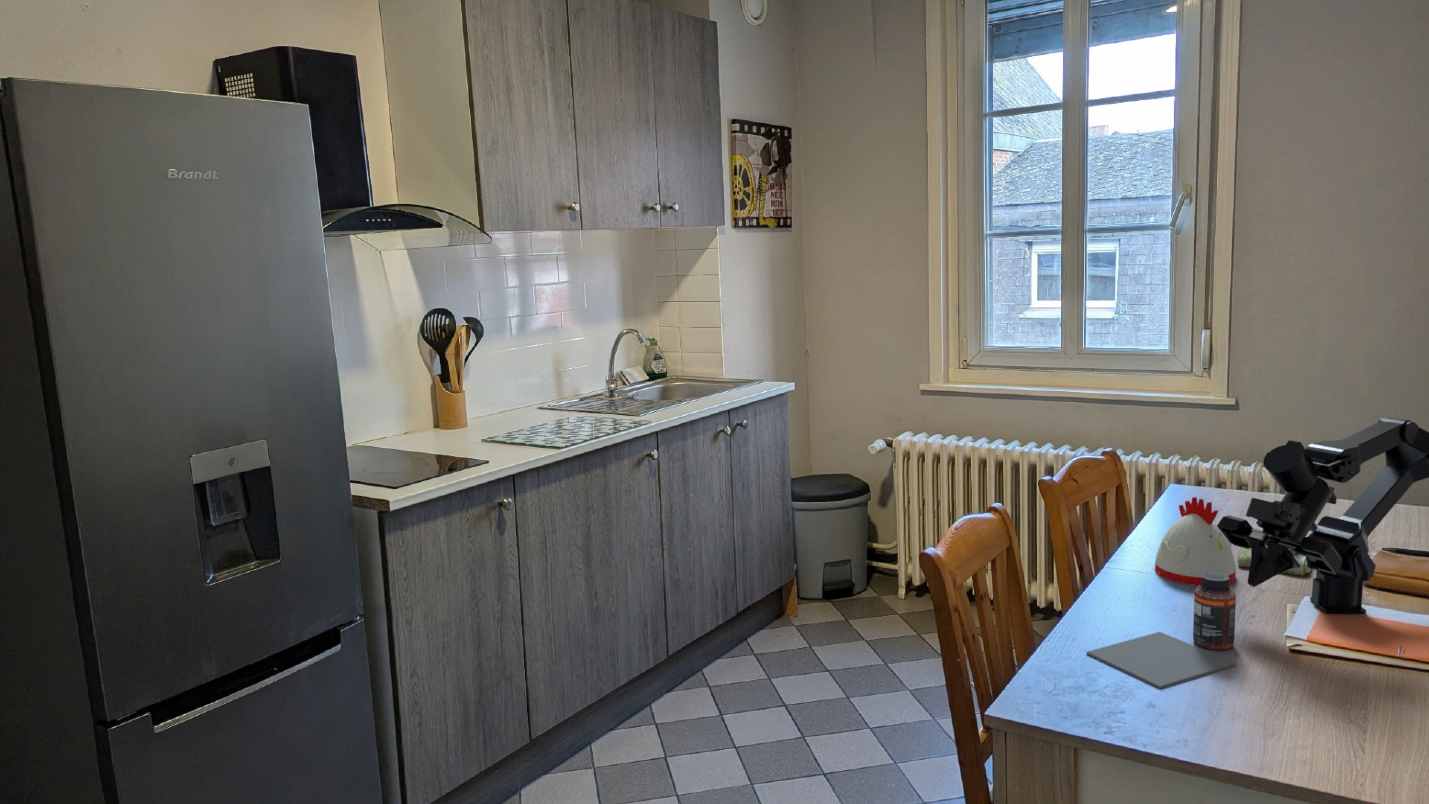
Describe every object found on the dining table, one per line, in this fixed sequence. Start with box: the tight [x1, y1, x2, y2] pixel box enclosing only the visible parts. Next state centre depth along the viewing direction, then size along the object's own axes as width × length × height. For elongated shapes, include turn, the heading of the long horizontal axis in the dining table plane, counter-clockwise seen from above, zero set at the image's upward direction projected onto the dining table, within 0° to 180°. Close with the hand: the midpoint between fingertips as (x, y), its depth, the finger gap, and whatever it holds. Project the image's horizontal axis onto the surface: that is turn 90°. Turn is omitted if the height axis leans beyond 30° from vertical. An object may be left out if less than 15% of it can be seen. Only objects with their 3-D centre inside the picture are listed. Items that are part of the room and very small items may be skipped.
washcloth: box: [1237, 547, 1311, 576], centre depth 198 cm, size 13×18×3 cm
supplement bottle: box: [1192, 573, 1237, 651], centre depth 159 cm, size 6×6×11 cm
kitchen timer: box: [1154, 496, 1237, 586], centre depth 190 cm, size 14×14×15 cm
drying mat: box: [1086, 631, 1236, 690], centre depth 154 cm, size 16×14×1 cm
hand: (1250, 584), depth 162 cm, fingers closed
